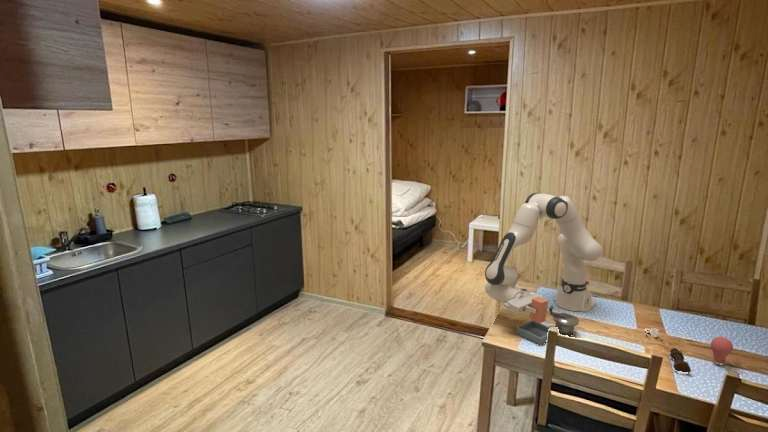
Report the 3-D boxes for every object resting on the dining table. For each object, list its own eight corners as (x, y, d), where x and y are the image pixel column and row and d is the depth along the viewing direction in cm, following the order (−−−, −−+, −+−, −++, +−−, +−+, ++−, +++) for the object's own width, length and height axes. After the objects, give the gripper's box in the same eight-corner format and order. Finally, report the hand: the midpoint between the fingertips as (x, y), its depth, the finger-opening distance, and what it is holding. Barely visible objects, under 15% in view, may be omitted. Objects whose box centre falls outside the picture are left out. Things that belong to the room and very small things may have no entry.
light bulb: (702, 359, 175) (708, 333, 172) (718, 359, 175) (724, 333, 172) (716, 369, 168) (723, 342, 165) (733, 369, 168) (739, 342, 166)
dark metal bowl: (579, 331, 195) (582, 310, 193) (573, 341, 187) (576, 319, 184) (550, 322, 203) (553, 302, 201) (543, 331, 195) (546, 310, 192)
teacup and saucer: (641, 330, 198) (643, 322, 198) (661, 334, 195) (663, 326, 194) (643, 339, 191) (645, 331, 190) (664, 343, 187) (665, 335, 186)
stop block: (535, 316, 192) (538, 296, 190) (545, 320, 188) (548, 300, 186) (529, 319, 189) (531, 299, 187) (538, 323, 185) (541, 303, 183)
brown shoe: (675, 359, 178) (682, 377, 164) (664, 351, 179) (670, 369, 165) (685, 350, 175) (694, 368, 162) (674, 342, 177) (682, 359, 163)
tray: (532, 326, 199) (533, 319, 198) (556, 337, 189) (557, 330, 188) (516, 334, 192) (516, 327, 191) (540, 346, 182) (541, 339, 181)
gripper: (501, 297, 191) (527, 308, 180) (528, 287, 202) (554, 298, 192) (500, 309, 192) (525, 322, 181) (526, 299, 204) (552, 310, 193)
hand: (540, 309), depth 187 cm, fingers closed on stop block, 5 cm apart
